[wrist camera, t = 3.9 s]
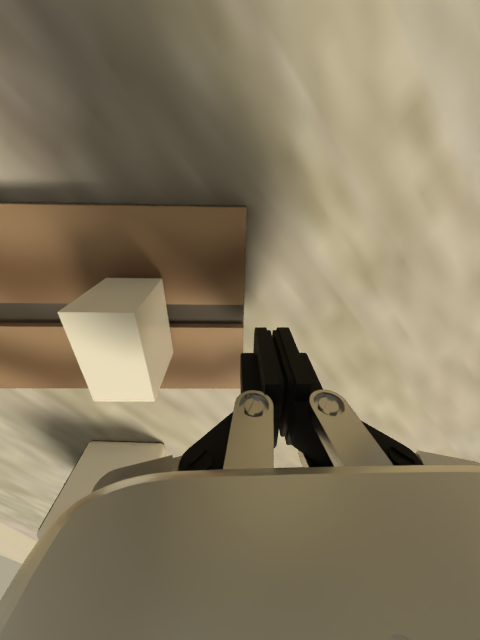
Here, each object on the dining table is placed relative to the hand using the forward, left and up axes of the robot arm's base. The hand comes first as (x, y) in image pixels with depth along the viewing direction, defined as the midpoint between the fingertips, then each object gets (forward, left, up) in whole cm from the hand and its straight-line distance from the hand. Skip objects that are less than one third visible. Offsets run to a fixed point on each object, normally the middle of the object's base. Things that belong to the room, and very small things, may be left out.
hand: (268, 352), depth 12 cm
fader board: (0, -15, -5) cm, 16 cm away
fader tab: (0, -7, -3) cm, 8 cm away
